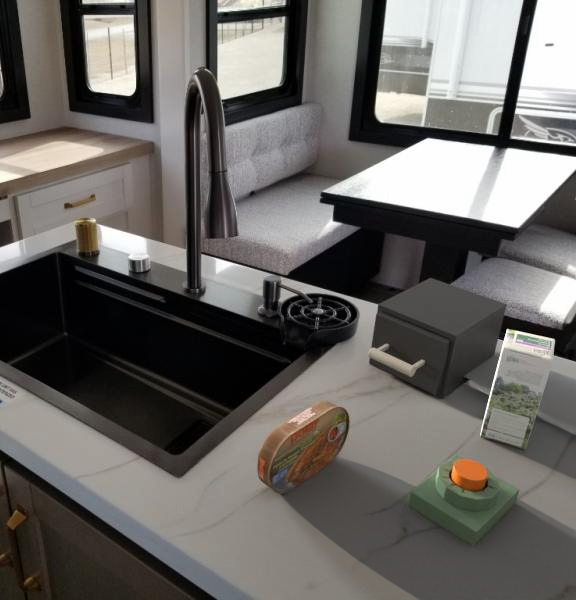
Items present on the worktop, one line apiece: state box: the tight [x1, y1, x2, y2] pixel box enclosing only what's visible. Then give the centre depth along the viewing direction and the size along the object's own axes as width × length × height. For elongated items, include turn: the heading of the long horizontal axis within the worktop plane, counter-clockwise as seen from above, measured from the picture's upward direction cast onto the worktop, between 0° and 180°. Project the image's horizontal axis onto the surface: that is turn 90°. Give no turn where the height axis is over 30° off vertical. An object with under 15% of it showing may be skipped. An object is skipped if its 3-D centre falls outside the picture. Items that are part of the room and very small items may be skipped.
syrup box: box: [479, 328, 556, 450], centre depth 84 cm, size 6×6×14 cm
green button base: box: [407, 454, 520, 547], centre depth 74 cm, size 10×8×4 cm
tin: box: [256, 400, 350, 495], centre depth 79 cm, size 15×3×8 cm, turn 129°
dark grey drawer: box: [367, 312, 451, 396], centre depth 98 cm, size 18×12×9 cm, turn 130°
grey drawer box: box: [370, 277, 508, 400], centre depth 100 cm, size 15×13×11 cm
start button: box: [451, 458, 488, 492], centre depth 73 cm, size 4×4×2 cm
